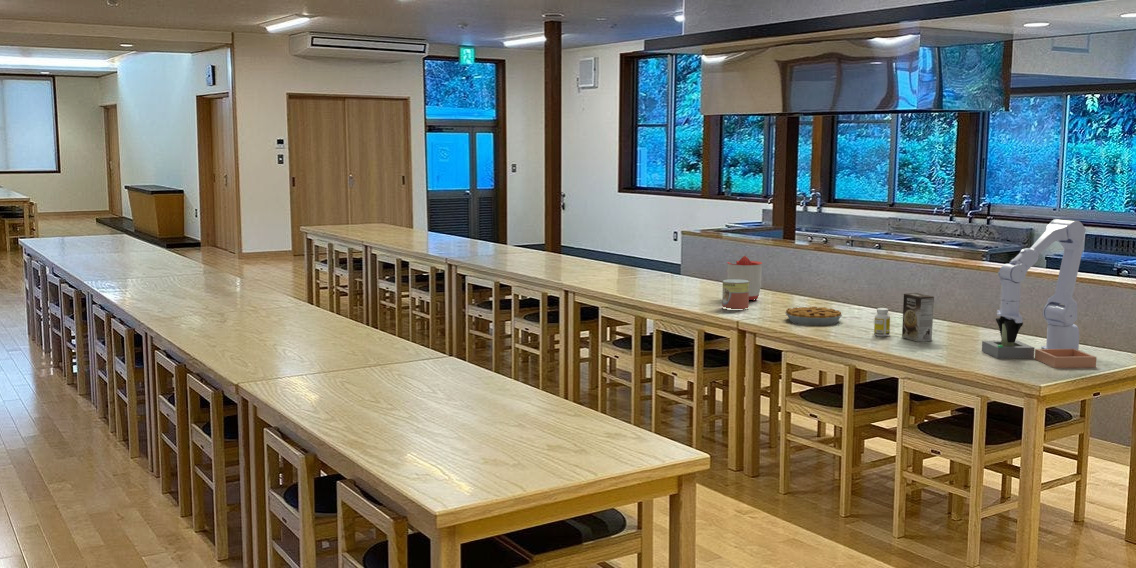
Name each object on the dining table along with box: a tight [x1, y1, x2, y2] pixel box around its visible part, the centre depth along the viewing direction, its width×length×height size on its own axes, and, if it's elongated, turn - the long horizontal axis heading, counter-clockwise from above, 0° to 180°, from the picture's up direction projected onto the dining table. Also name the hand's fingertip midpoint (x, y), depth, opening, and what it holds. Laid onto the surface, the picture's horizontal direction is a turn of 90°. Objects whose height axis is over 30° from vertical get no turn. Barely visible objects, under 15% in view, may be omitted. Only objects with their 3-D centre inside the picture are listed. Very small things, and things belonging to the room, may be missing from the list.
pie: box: [785, 306, 843, 326], centre depth 400 cm, size 22×22×5 cm
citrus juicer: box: [725, 255, 763, 301], centre depth 455 cm, size 16×17×20 cm
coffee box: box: [901, 292, 935, 343], centre depth 361 cm, size 9×6×16 cm
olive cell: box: [1000, 323, 1014, 346], centre depth 334 cm, size 4×4×9 cm
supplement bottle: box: [873, 307, 891, 337], centre depth 369 cm, size 5×5×10 cm
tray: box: [1034, 348, 1098, 369], centre depth 321 cm, size 13×13×3 cm
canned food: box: [721, 278, 750, 309], centre depth 431 cm, size 11×11×12 cm
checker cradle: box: [981, 339, 1036, 359], centre depth 335 cm, size 12×12×4 cm
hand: (1008, 340), depth 334 cm, fingers closed on olive cell, 4 cm apart
